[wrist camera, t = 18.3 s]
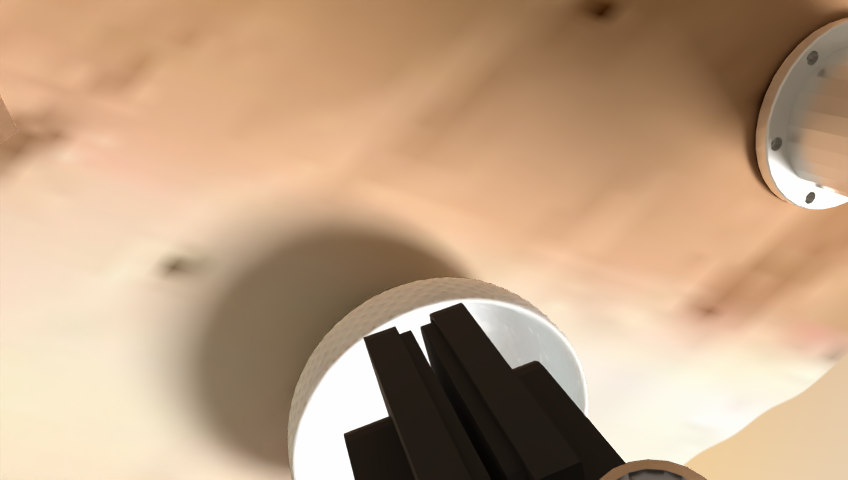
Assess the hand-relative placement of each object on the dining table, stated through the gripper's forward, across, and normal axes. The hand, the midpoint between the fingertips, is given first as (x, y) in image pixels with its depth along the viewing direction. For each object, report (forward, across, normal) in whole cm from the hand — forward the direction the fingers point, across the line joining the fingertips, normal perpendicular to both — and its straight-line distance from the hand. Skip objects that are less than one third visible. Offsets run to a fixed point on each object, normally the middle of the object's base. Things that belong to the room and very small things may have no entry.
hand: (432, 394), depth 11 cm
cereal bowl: (+26, -2, +17) cm, 31 cm away
